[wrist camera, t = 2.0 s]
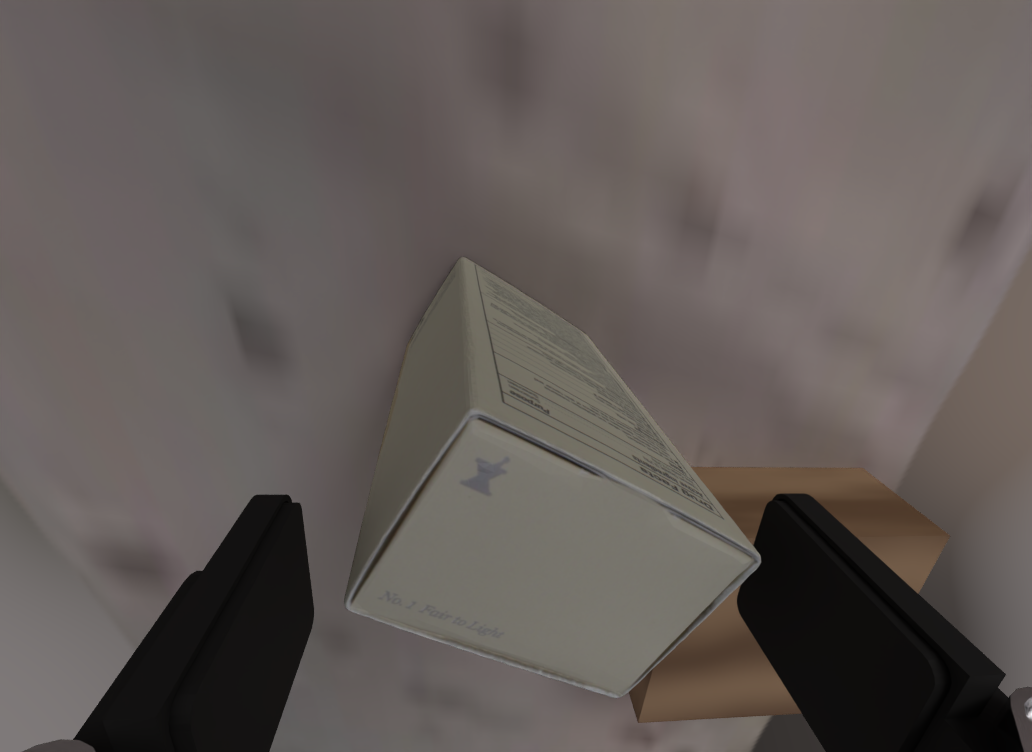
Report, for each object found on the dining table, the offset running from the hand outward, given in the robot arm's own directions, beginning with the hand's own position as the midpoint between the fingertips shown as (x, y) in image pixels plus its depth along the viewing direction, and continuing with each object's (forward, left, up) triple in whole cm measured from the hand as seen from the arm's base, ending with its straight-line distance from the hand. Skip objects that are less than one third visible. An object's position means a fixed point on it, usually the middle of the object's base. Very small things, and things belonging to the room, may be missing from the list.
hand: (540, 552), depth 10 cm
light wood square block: (+11, +12, -11) cm, 20 cm away
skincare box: (-1, 0, -11) cm, 11 cm away
